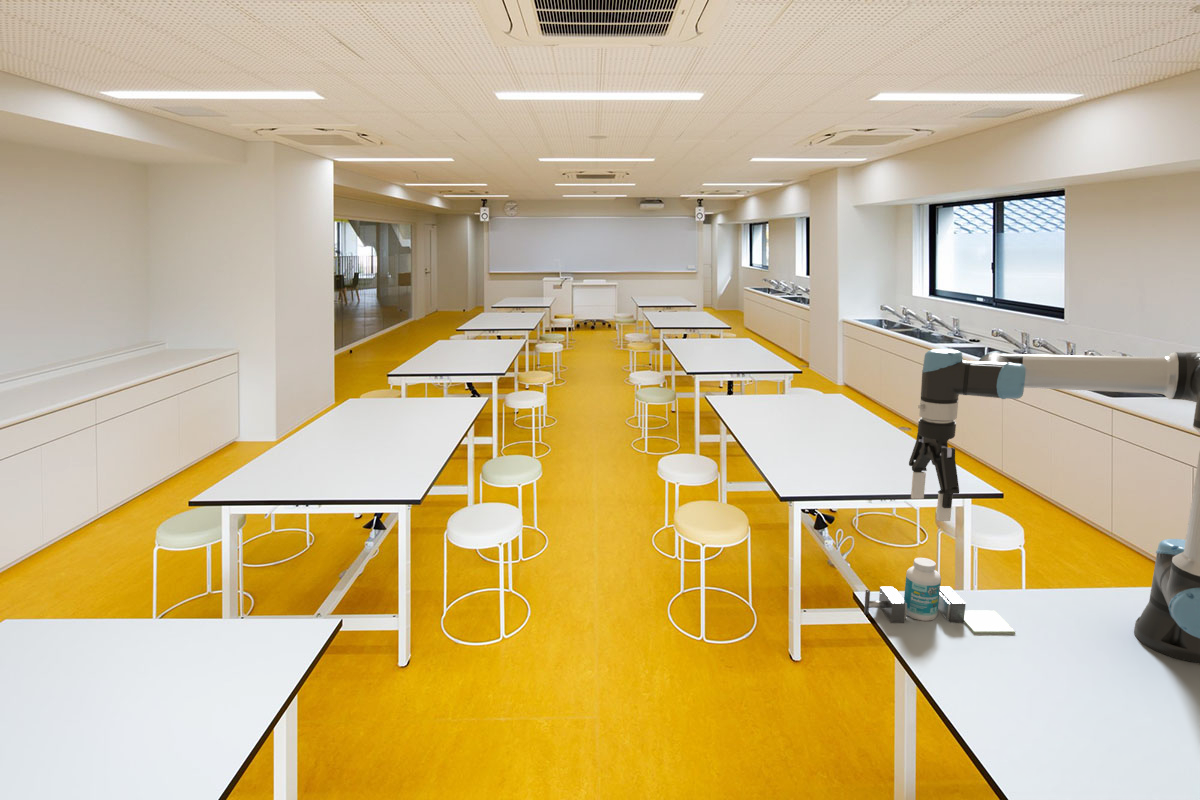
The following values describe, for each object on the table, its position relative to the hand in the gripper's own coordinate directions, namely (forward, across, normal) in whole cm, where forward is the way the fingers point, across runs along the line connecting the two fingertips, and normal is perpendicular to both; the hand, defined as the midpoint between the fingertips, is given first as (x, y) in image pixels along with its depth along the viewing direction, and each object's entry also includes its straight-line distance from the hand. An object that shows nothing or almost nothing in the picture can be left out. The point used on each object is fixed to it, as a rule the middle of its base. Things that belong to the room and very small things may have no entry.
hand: (929, 509), depth 156 cm
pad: (+27, +4, +13) cm, 30 cm away
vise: (+28, -1, -2) cm, 28 cm away
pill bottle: (+27, 0, 0) cm, 27 cm away
